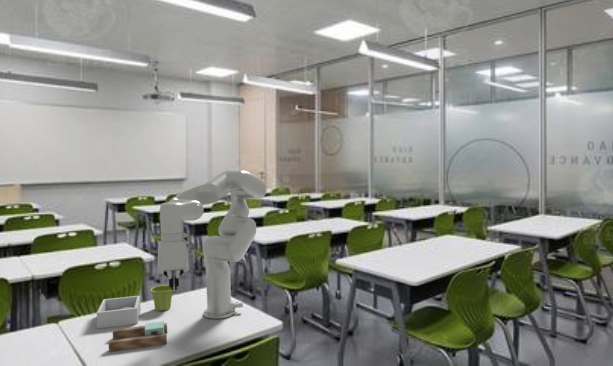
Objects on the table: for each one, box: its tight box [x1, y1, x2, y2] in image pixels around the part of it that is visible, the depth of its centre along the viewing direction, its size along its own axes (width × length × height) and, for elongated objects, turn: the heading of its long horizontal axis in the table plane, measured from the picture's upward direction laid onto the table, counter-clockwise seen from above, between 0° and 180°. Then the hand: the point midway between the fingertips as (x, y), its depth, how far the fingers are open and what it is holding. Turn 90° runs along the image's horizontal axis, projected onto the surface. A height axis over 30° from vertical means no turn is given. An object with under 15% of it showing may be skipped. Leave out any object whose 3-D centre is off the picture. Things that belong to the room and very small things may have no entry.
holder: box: [96, 295, 142, 329], centre depth 168 cm, size 14×16×6 cm
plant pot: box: [150, 284, 174, 312], centre depth 178 cm, size 9×9×9 cm
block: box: [144, 320, 165, 336], centre depth 148 cm, size 6×6×5 cm
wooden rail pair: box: [108, 322, 168, 353], centre depth 147 cm, size 18×12×4 cm, turn 107°
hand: (174, 288), depth 149 cm, fingers closed
